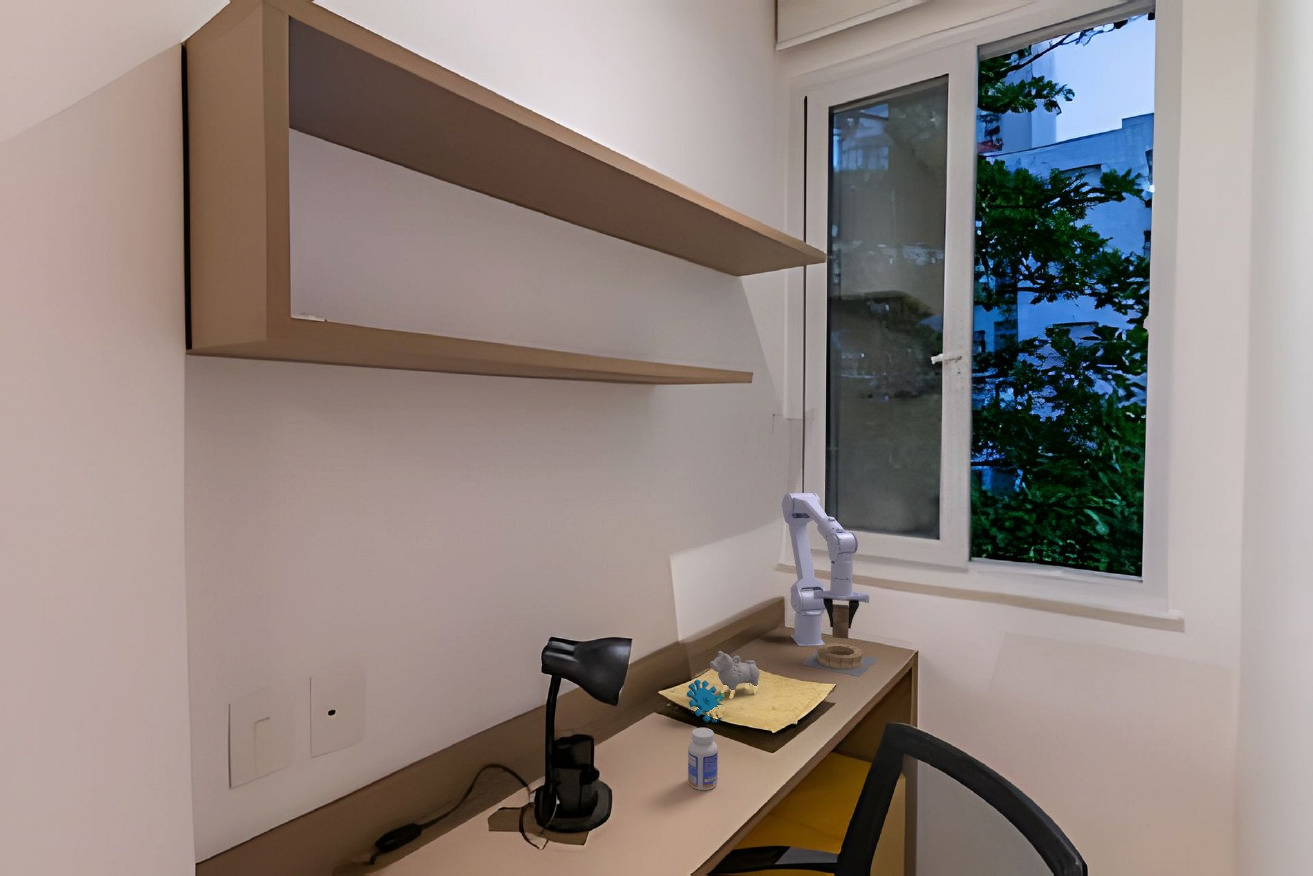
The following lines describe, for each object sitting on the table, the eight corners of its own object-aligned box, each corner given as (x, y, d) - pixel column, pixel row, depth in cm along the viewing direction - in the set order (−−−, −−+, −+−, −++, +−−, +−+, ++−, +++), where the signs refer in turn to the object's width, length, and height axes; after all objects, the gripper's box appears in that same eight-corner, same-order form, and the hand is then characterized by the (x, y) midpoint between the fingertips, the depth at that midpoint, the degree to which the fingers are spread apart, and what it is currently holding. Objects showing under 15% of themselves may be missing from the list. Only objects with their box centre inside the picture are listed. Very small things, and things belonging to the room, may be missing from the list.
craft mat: (822, 648, 210) (822, 647, 210) (878, 660, 201) (878, 658, 201) (800, 665, 196) (800, 663, 196) (859, 678, 188) (859, 676, 188)
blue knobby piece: (702, 723, 157) (683, 680, 162) (686, 736, 160) (668, 693, 165) (736, 716, 164) (717, 675, 170) (721, 728, 167) (702, 688, 173)
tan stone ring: (813, 654, 204) (813, 643, 204) (853, 653, 205) (854, 643, 205) (825, 669, 193) (825, 658, 192) (868, 668, 193) (868, 657, 193)
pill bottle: (719, 778, 137) (719, 727, 137) (715, 793, 132) (716, 740, 131) (690, 774, 138) (691, 724, 138) (685, 789, 133) (686, 737, 133)
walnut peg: (832, 637, 197) (833, 608, 196) (832, 633, 201) (832, 604, 200) (848, 638, 196) (848, 609, 195) (847, 634, 200) (848, 605, 199)
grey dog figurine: (705, 694, 177) (705, 650, 176) (750, 686, 182) (751, 644, 181) (715, 702, 172) (716, 658, 171) (762, 694, 177) (762, 650, 177)
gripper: (814, 579, 195) (813, 629, 196) (870, 582, 192) (869, 633, 193) (813, 573, 202) (812, 621, 203) (868, 576, 199) (867, 625, 200)
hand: (840, 626), depth 198 cm, fingers closed on walnut peg, 4 cm apart
